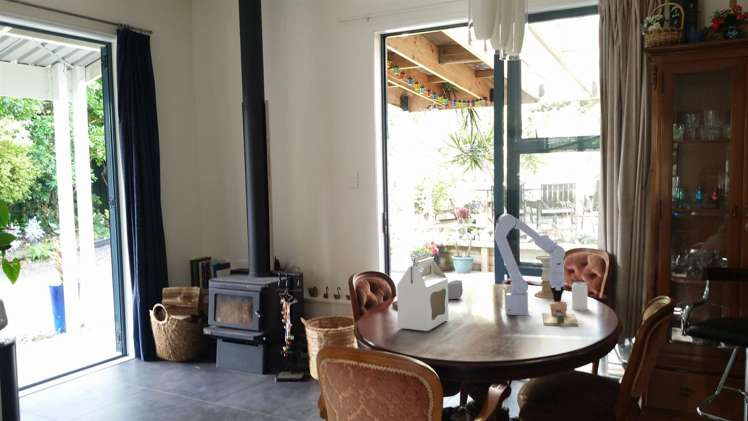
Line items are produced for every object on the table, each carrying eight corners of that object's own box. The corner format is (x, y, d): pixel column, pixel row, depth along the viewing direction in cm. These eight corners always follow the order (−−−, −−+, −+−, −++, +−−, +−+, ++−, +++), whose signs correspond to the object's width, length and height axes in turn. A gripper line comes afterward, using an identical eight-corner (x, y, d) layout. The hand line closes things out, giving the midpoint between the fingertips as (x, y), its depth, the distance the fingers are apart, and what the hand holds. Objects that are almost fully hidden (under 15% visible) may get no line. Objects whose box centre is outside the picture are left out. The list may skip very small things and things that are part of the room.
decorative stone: (468, 291, 279) (457, 273, 280) (467, 293, 272) (456, 276, 273) (443, 305, 282) (433, 288, 283) (442, 308, 276) (431, 291, 276)
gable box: (427, 331, 217) (426, 259, 216) (397, 328, 224) (395, 258, 223) (448, 319, 237) (447, 253, 235) (420, 316, 243) (419, 252, 242)
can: (588, 311, 245) (588, 283, 245) (573, 310, 247) (572, 283, 246) (586, 307, 252) (585, 281, 251) (571, 307, 253) (570, 281, 252)
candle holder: (539, 294, 286) (538, 255, 285) (563, 296, 279) (562, 256, 278) (530, 298, 276) (530, 257, 275) (555, 300, 269) (554, 259, 268)
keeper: (550, 315, 234) (550, 303, 234) (550, 312, 239) (550, 301, 238) (566, 315, 232) (566, 304, 232) (566, 312, 237) (565, 302, 237)
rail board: (543, 325, 223) (543, 315, 222) (542, 314, 240) (542, 305, 240) (578, 326, 219) (578, 316, 219) (574, 316, 237) (574, 306, 236)
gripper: (568, 275, 234) (568, 307, 234) (565, 270, 248) (565, 300, 248) (550, 275, 236) (550, 307, 236) (548, 270, 250) (549, 300, 250)
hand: (557, 303), depth 243 cm, fingers closed
